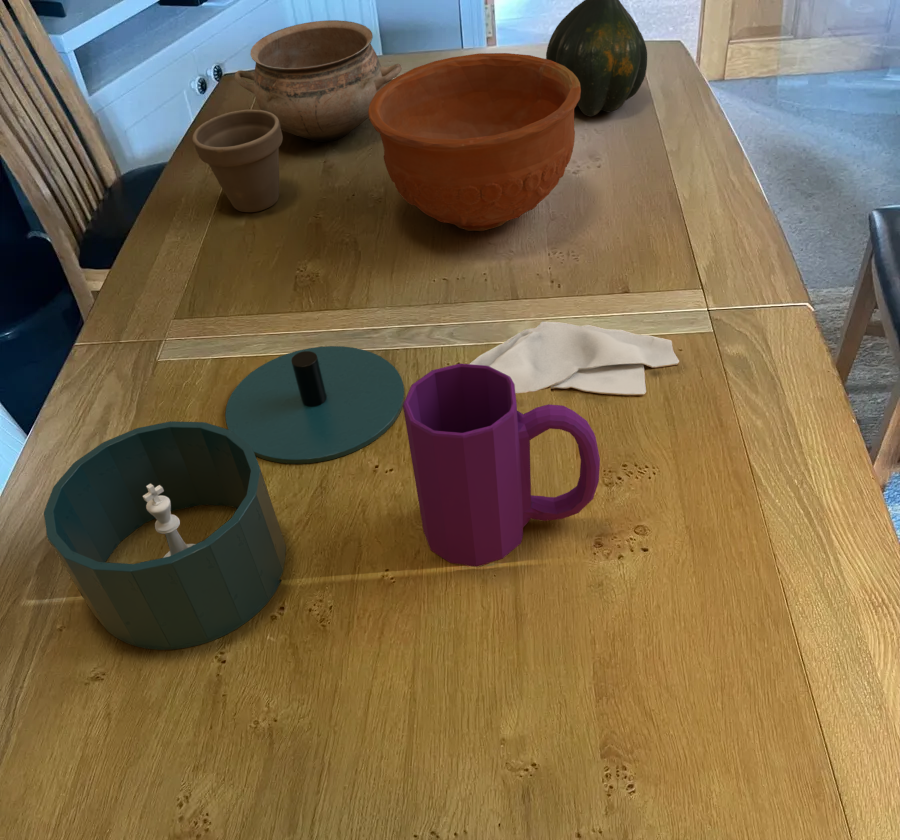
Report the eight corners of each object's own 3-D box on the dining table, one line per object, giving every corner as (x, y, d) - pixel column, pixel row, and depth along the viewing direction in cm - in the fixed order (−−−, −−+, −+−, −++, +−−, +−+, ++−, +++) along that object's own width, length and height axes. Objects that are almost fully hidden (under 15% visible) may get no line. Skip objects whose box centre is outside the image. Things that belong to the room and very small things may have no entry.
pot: (70, 658, 79) (18, 580, 71) (115, 510, 90) (74, 429, 83) (276, 643, 78) (245, 561, 70) (294, 495, 89) (269, 412, 82)
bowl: (607, 240, 114) (612, 112, 102) (408, 284, 112) (390, 158, 100) (545, 155, 130) (543, 36, 118) (369, 192, 128) (350, 75, 116)
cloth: (669, 318, 102) (671, 299, 100) (686, 396, 93) (688, 378, 92) (433, 333, 105) (430, 315, 103) (427, 411, 96) (424, 393, 94)
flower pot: (203, 224, 126) (179, 149, 119) (226, 183, 133) (205, 110, 126) (285, 221, 124) (267, 145, 117) (303, 180, 132) (287, 106, 124)
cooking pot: (420, 102, 145) (410, 14, 136) (396, 159, 133) (383, 66, 124) (267, 107, 150) (247, 22, 140) (231, 163, 138) (207, 74, 128)
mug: (423, 501, 87) (402, 367, 76) (591, 487, 86) (594, 349, 75) (424, 574, 81) (402, 441, 70) (604, 559, 80) (610, 422, 69)
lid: (216, 476, 92) (197, 427, 88) (239, 363, 104) (224, 314, 100) (404, 460, 91) (395, 409, 86) (406, 347, 103) (398, 297, 99)
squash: (541, 95, 130) (613, -10, 122) (515, 61, 140) (580, -38, 132) (613, 151, 137) (685, 55, 129) (583, 115, 147) (648, 24, 140)
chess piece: (225, 565, 84) (191, 482, 76) (181, 597, 81) (141, 516, 74) (193, 540, 86) (157, 457, 78) (149, 571, 84) (108, 489, 76)
